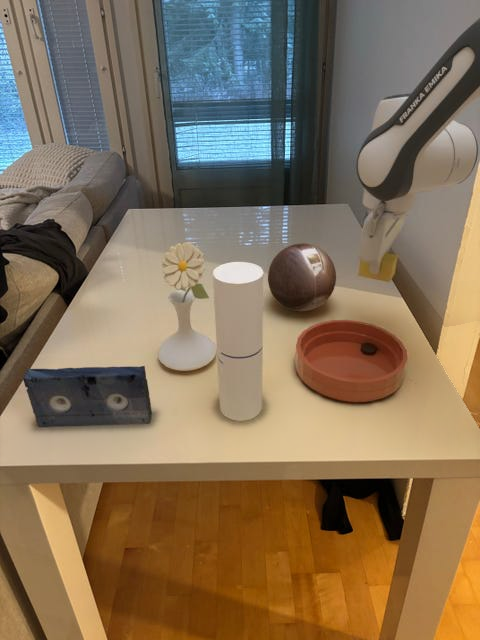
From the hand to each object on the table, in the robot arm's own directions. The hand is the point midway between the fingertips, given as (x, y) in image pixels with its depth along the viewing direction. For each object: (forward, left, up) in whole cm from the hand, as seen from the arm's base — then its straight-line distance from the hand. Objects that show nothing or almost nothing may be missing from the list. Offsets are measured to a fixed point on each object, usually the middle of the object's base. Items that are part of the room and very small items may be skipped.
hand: (378, 266), depth 89 cm
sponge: (0, 0, -2) cm, 2 cm away
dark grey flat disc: (-2, +7, -15) cm, 16 cm away
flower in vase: (+28, +24, -16) cm, 40 cm away
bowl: (0, +13, -15) cm, 20 cm away
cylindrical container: (+13, +31, -16) cm, 37 cm away
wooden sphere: (+17, -5, -16) cm, 24 cm away
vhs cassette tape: (+33, +45, -16) cm, 58 cm away
